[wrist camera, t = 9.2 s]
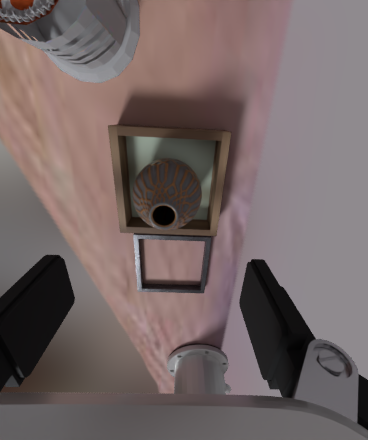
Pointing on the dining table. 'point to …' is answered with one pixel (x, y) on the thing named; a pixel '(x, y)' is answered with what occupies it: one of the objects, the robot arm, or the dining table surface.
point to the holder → (177, 149)
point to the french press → (78, 33)
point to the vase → (167, 194)
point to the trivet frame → (171, 288)
